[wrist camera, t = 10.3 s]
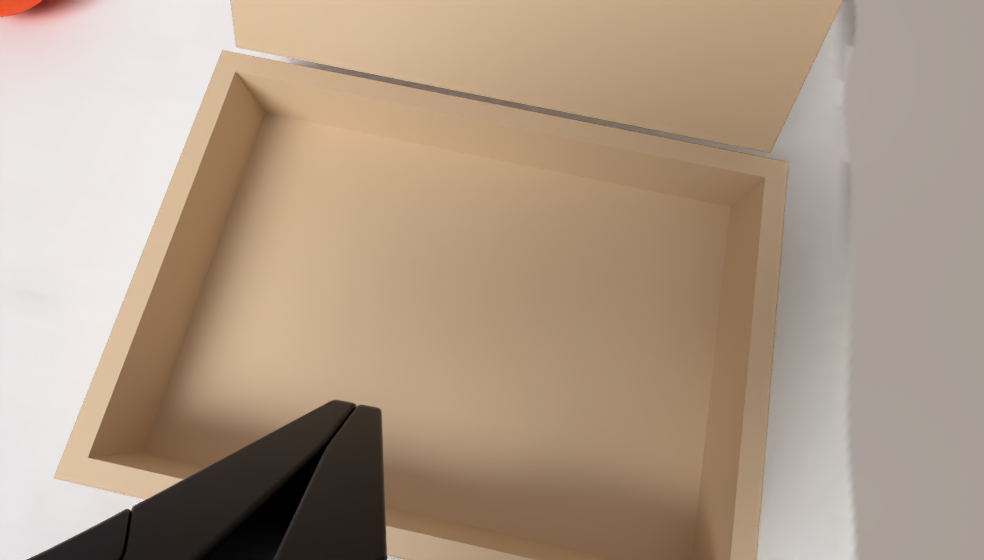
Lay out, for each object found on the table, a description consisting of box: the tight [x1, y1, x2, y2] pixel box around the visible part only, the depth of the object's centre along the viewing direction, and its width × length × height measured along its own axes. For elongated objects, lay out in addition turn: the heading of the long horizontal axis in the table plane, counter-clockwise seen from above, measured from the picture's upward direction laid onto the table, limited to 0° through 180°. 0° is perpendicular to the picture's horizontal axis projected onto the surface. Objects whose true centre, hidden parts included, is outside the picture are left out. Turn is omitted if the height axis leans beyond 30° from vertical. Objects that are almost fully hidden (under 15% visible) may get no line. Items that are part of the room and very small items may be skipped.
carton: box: [54, 50, 788, 560], centre depth 20 cm, size 16×22×4 cm
